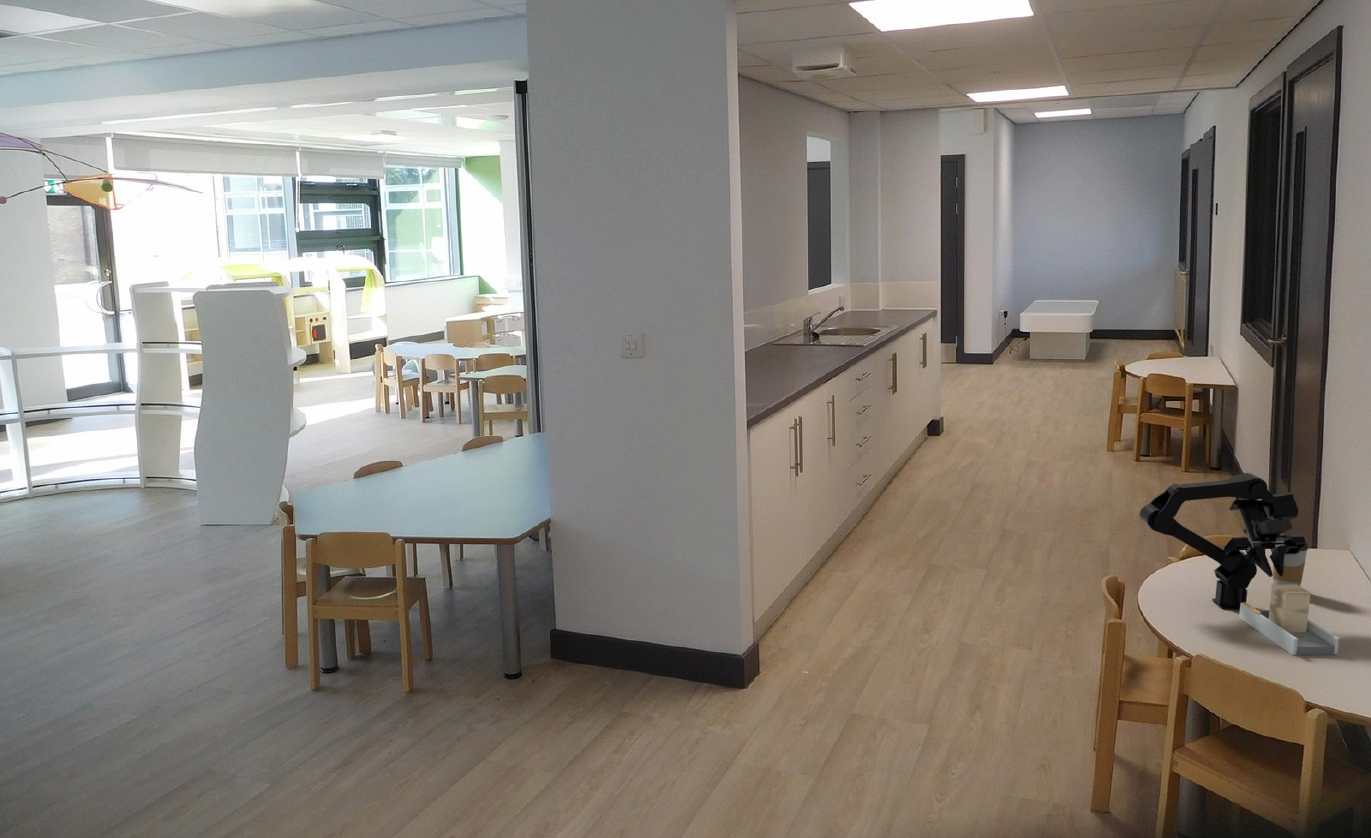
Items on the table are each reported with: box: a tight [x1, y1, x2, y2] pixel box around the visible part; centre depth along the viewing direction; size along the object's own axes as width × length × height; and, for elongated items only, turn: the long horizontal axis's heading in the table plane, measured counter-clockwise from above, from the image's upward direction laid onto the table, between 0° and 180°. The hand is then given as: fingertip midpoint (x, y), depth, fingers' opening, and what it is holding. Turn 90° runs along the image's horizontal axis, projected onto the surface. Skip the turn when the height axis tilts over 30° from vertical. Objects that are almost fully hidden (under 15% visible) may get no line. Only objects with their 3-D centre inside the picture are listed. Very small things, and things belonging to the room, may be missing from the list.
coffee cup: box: [1272, 534, 1309, 587], centre depth 296 cm, size 8×8×15 cm
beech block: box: [1268, 584, 1311, 632], centre depth 266 cm, size 6×6×10 cm
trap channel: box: [1238, 602, 1340, 656], centre depth 267 cm, size 24×11×4 cm, turn 1°
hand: (1276, 576), depth 272 cm, fingers open, 2 cm apart
